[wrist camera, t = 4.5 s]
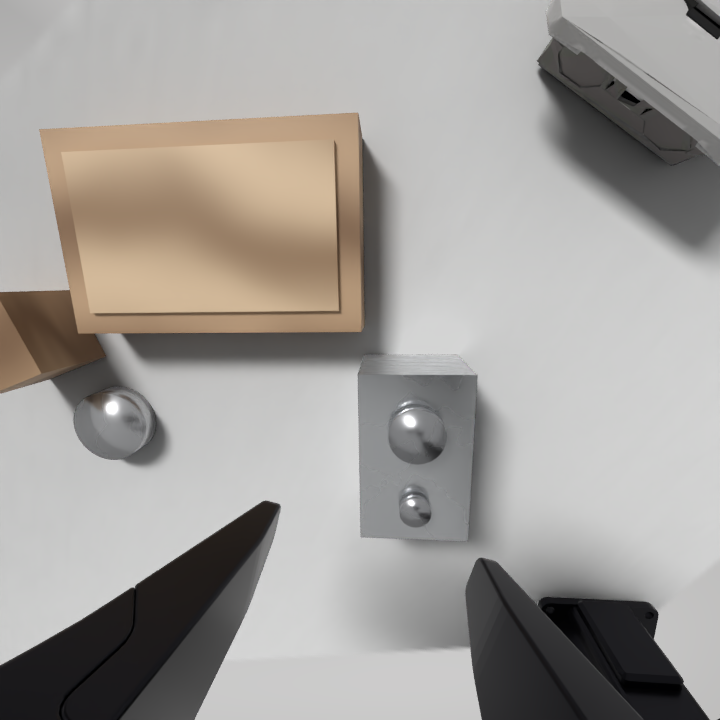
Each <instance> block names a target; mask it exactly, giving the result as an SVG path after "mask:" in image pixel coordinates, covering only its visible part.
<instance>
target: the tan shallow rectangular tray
mask: <svg viewBox="0 0 720 720" xmlns="http://www.w3.org/2000/svg"><path fill="white" fill-rule="evenodd" d="M39 130H40V136H41V141H42V146H43V151H44V157H45V162H46V167H47V172H48V178H49V183H50V188H51V193H52V199H53V204H54V209H55V214H56V220H57V225H58V230H59V235H60V241H61V246H62V251H63V256H64V262H65V267H66V272H67V277H68V283H69V288H70V293H71V298H72V304H73V309H74V314H75V319H76V325H77V330H78V334H80V333H262V332H362V330H363V328H364V326H365V310H364V233H363V157H362V133H361V127H360V121H359V115H358V113H343V114H324V115H305V116H286V117H267V118H248V119H229V120H210V121H191V122H172V123H153V124H134V125H115V126H96V127H77V128H58V129H39Z"/></svg>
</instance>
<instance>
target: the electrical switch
mask: <svg viewBox="0 0 720 720" xmlns="http://www.w3.org/2000/svg"><path fill="white" fill-rule="evenodd" d="M546 16H547V24H548V31H549V35H550V36H552V37H553V38H552V39H551V41H550V42H549V44H548V45H547V47H546V48H545V50H544V51H543V53H542V54H541V56H540V57H539V59H538V60H537V62H539V64H538V65H539V66H541V67H542V68H543V69H545V70H546V71H547V72H549V73H550V74H551V75H553V76H554V77H555V78H557V79H558V80H559V81H560V82H562V83H563V84H564V85H566V86H567V87H568V88H570V89H571V90H572V91H574V92H575V93H576V94H578V95H579V96H580V97H581V98H583V99H584V100H585V101H587V102H588V103H589V104H591V105H592V106H593V107H595V108H596V109H597V110H599V111H600V112H601V113H602V114H604V115H605V116H606V117H608V118H609V119H610V120H612V121H613V122H614V123H616V124H617V125H618V126H620V127H621V128H622V129H623V130H625V131H626V132H627V133H629V134H630V135H631V136H633V137H634V138H635V139H637V140H638V141H639V142H641V143H642V144H643V145H645V146H646V147H647V148H648V149H650V150H651V151H652V152H654V153H655V154H656V155H658V156H659V157H660V158H662V159H663V160H664V161H666V162H667V163H668V164H669V165H675V164H677V163H680V162H682V161H685V160H687V159H690V158H692V157H695V156H701V155H706V156H707V157H709V158H710V159H711V160H712V161H713V162H714V163H716V164H717V165H718V166H720V0H552V1H551V3H550V5H549V7H548V9H547V11H546ZM612 81H614V82H615V83H614V84H613V85H612V86H610V87H609V88H607V87H608V86H609V85H610V83H611V82H612ZM625 90H626V91H628V92H629V93H630V94H632V95H633V96H634V97H636V98H637V99H638V100H640V101H641V102H639V103H638V104H636V103H634V102H632V101H629V100H627V99H625V98H623V97H621V95H622V93H623V92H624V91H625ZM646 108H649V109H652V110H650V111H648V112H646V113H642V112H643V111H644V110H645V109H646ZM643 133H644V134H643Z"/></svg>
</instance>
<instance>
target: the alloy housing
mask: <svg viewBox="0 0 720 720" xmlns="http://www.w3.org/2000/svg"><path fill="white" fill-rule="evenodd" d="M476 393H477V374H476V373H475V372H474V371H473V370H472V369H471V368H470V367H469V366H468V365H467V364H466V363H465V362H464V361H463V360H462V359H461V358H460V357H459V356H458V355H364V356H363V359H362V362H361V366H360V369H359V372H358V416H359V472H360V527H361V537H367V538H393V539H420V540H447V541H468V530H469V513H470V496H471V479H472V461H473V444H474V427H475V410H476Z"/></svg>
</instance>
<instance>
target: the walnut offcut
mask: <svg viewBox="0 0 720 720" xmlns="http://www.w3.org/2000/svg"><path fill="white" fill-rule="evenodd" d="M104 357H106V355H105V353H104V351H103V349H102V347H101V345H100V344H99V342H98V340H97V338H96V336H95V334H94V333H80V334H78V330H77V325H76V319H75V314H74V309H73V304H72V298H71V293H70V290H62V291H27V292H0V394H1V393H4V392H8V391H11V390H14V389H18V388H21V387H25V386H28V385H32V384H35V383H38V382H42V381H45V380H49V379H52V378H54V377H57V376H59V375H62V374H64V373H67V372H69V371H71V370H74V369H76V368H79V367H81V366H84V365H86V364H89V363H91V362H94V361H96V360H99V359H101V358H104Z"/></svg>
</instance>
